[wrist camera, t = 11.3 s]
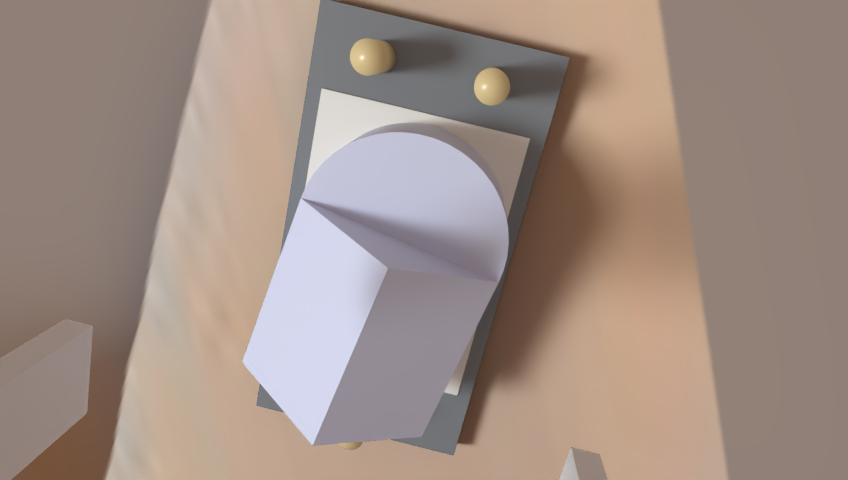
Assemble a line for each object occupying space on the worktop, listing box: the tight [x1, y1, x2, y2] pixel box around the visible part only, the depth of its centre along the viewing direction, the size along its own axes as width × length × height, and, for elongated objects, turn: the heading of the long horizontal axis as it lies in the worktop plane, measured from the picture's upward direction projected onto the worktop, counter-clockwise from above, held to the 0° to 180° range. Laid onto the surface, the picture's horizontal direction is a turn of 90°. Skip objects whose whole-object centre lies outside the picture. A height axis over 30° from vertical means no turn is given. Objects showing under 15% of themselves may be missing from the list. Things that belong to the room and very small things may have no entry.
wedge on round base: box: [242, 123, 509, 445], centre depth 25 cm, size 9×7×13 cm
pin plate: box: [256, 0, 570, 455], centre depth 28 cm, size 21×11×4 cm, turn 167°
